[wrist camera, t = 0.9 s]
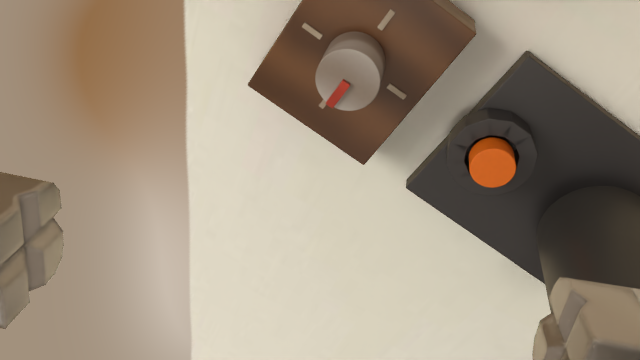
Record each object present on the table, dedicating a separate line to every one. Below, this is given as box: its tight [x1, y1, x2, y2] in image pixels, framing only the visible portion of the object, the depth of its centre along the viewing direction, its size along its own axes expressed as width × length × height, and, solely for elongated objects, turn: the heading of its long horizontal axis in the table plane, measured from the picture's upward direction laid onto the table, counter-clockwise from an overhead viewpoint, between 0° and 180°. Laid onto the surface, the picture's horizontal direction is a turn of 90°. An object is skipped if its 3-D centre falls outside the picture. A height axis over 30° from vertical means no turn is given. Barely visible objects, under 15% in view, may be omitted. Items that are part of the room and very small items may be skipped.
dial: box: [315, 32, 386, 111], centre depth 38 cm, size 4×4×4 cm
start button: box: [469, 137, 516, 188], centre depth 41 cm, size 3×3×2 cm
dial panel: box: [248, 0, 476, 165], centre depth 41 cm, size 12×10×3 cm
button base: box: [406, 51, 640, 284], centre depth 44 cm, size 16×13×3 cm
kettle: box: [536, 186, 640, 313], centre depth 37 cm, size 15×8×15 cm, turn 147°
